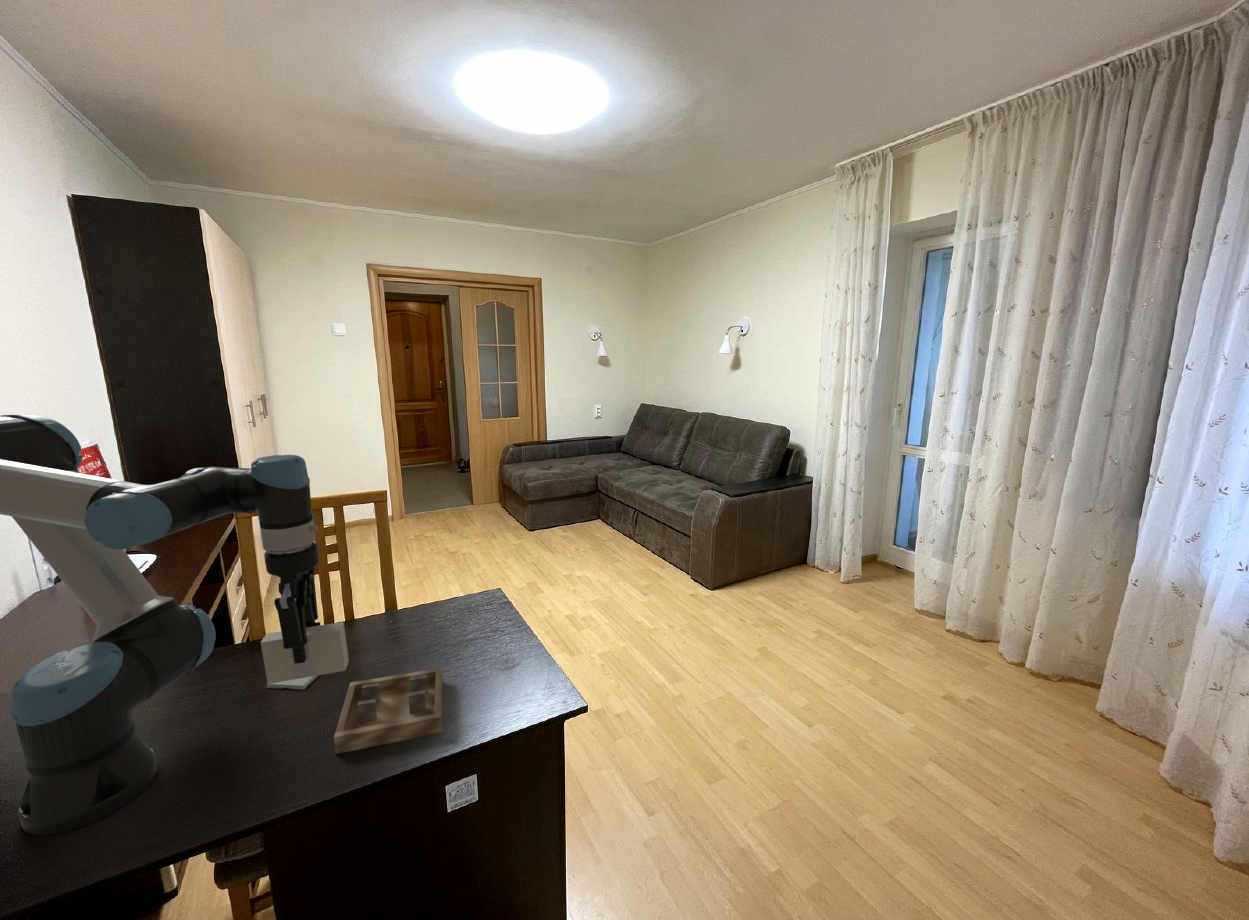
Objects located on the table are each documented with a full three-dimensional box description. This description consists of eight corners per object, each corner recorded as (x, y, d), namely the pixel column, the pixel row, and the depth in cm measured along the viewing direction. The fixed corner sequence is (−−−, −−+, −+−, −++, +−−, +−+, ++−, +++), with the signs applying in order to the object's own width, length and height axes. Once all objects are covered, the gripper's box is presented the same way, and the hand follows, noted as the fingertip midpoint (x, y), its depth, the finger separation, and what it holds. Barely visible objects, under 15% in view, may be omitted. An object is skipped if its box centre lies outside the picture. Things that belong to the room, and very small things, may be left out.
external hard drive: (338, 657, 119) (304, 691, 106) (304, 656, 119) (266, 690, 107) (338, 651, 118) (303, 685, 106) (304, 650, 118) (265, 683, 106)
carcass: (335, 754, 90) (333, 730, 89) (351, 697, 104) (349, 676, 103) (441, 732, 95) (440, 709, 94) (442, 681, 110) (441, 661, 109)
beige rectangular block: (267, 683, 86) (260, 642, 84) (274, 673, 89) (267, 633, 87) (345, 670, 89) (339, 630, 88) (348, 661, 92) (343, 621, 91)
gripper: (301, 561, 78) (318, 694, 83) (327, 528, 93) (341, 642, 98) (245, 567, 76) (266, 703, 80) (281, 532, 91) (297, 648, 95)
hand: (307, 669), depth 89 cm, fingers closed on beige rectangular block, 3 cm apart
